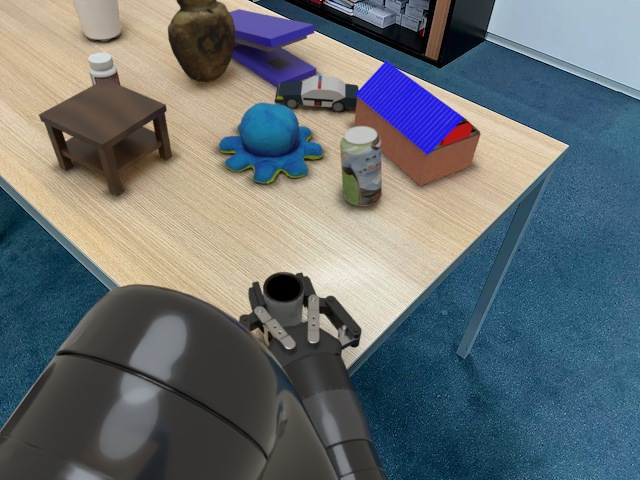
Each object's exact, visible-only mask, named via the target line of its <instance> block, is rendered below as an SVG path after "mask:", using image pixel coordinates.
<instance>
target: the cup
mask: <svg viewBox="0 0 640 480" xmlns="http://www.w3.org/2000/svg"><path fill="white" fill-rule="evenodd" d="M71 1H72V4H73V7H74V10H75V13H76V15H77V18H78V21H79V24H80V26H81V28H82V31H83V34H84V35H85V37H86V38H87V39H88V40H89V41H90V42H95V41H96V40H97V41H101V42H102V43H108V42H109V41H110V40H112V39H113V38H114V39H118V38H120V36H121V32H122V27H121V18H120V17H121V16H120V6H119V0H71Z"/></svg>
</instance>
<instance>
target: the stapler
mask: <svg viewBox="0 0 640 480" xmlns="http://www.w3.org/2000/svg"><path fill="white" fill-rule="evenodd" d="M229 13H230V14H231V15H232V18H233V20H234V26H235V45H234V50H233V54H232V58H231V59H233V60H234V61H236V62H237V63H239V64H241V65H242V66H243V67H245V68H246V69H248V70H250V71H251V72H253V73H254V74H255V75H258V76H259V77H260V78H262V79H263V80H265V81H267V82H268V83H270V84H271V85H273V86H274V87H276V88H277V86H279V84H280V82H288V81H304V80H306V79H309V78H311V77H313V76H316V75H317V70H318V69H317V67H315V66H313V65H312V64H311V63H308V62H307V61H305V60H304V59H301V58H300V57H299V56H297V55H295V54H294V53H292V52H291V51H288V50H286V49H285V48H283V47H286V46H290V45H292V44H295V43H298V42H301V41H303V40H306V39H308V36H310V35H314V34H315V25H314V24H313V23H308V22H303V21H298V20H292V19H288V18H283V17H279V16H274V15H269V14H265V13H259V12H254V11H251V10H245V9H240V8H237V9H234V10H232V11H229Z"/></svg>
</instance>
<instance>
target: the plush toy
mask: <svg viewBox="0 0 640 480" xmlns="http://www.w3.org/2000/svg"><path fill="white" fill-rule="evenodd" d="M299 122H300V121H299V120H298V117H297V115H296V113H295V112H294V111H293V109H290V108H288V107H287V106H286V105H285V104H276V103H269V102H257V103H255V104H253V105H252V106H251V107H249V108H248V109H247V110H246V111H245V112H244V114H243V115H242V117H241V120H240V123H238V125H237V133H238V135H231V136H230V135H229V136H225V137H223V138H222V139H221V140H220V142H219V145H218V147H219V151H220V152H221V154H233V155H231V156H230V157H228V158H226V159H225V161H224V164H225V167H226V169H227V170H229V171H232V172H235V173H240V172H243V171H245V170H246V169H249V168H252V169H253V175H252V180H253V181H254V182H255V183H260V184H270V183H272V182H274V181H275V180H276V177H277V176H278V174H280V172H281V171H282V172H283V173H284V174H285V176H287V177H289V178H292V179H296V178H297V179H298V178H302V177H306V176H307V175H308V171H309V170H308V166H307V164H306V162H305V161H306V160H305V159H309V160H318V159H322V157H323V156H324V149H323V147H322V144H320V143H318V142H316V141H309V140H310V139H311V138H312V137H313V133H312V130H311V128H309V127H307V126H303V125H300V123H299Z"/></svg>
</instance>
